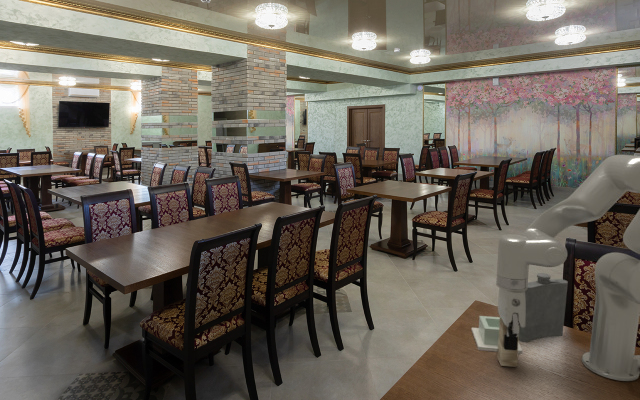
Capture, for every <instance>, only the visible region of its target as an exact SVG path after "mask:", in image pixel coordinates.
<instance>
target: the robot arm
mask: <svg viewBox="0 0 640 400" xmlns="http://www.w3.org/2000/svg"><path fill="white" fill-rule="evenodd" d="M627 192H630V193H631V192H632V193H636V194H640V155H630V154H615V155H611V156H608V157H607V158H605V159H604V160H603V161H602V162H601V163H600V164H599V165H598V166H597V167H596V168H595V169H593V171H592V172H591V173H590V175H589V176H588V177H587V178H586V179H585V180H584V181H582V183H581V184H580V185H579V186H578V187H577V188H576V189H575V190H574V191H573V192H572V193H571V194H570V195H569V196H568V197H567V198H565V199H563V200H562V201H560V202H558V203H557V204H554V205H553V206H551V207H550V208H548V209H547V210H545V211H543V212H542V213H541V214H540V215H538V217H536V218H535V219H534V220H533V221H532V222H531V224H530V225H528V227H527V228H526V229H525V230H524V231H523V232H522V235H520V234H514V233H513V234H512V233H510V234H509V233H508V234H503V235H501V236H500V237H499V239H498V242H497V243H498V247H497V264H496V265H497V266H496V283H495V284H496V287H498V298H497V312H498V314H499V317H501V319H502V321H503V322H504V324H505V325H506V335H504V349H505V350H517V342H518V343H519V340H518V334H519V326H518V324H519V325H520V326H521V327H522V328H524V327H525V323H526V298H525V291H526V290H527V286H528V283H529V268H530V266H538V267H542V268H543V267H545V268H556V267H559V266H561V265H562V264H564V263H565V261H566V260H567V257H568V250H567V248H566V245H564V244H563V242H562V241H560V240H558V239H556V237H557V236H558V235H559V234H560V233H562V232H563V231H564V230H566V229H568V228H570V227H573V226H575V225H578V224H584V223H588V222H593V221H596V220H599V219H601V218H602V217H603V216H604V215H605V214H607V212H608V211H609V210H610V209H611V208H612V207H613V206H614V205H615V204H616V203H617V201H619V200H620V199H621V197H623V196H624V194H625V193H627ZM622 242H623V244H624V245H625V247H627V248H628V249H629V250H631V251H632V252H635V253H636V254H638V255H640V209H638V211H637V213H636V214H635V216H634V217H633V219H632V220H631V221H630V223H629V225H628V226H627V228H626V229H625V231H624V232H623V237H622ZM594 283H595V301H594V303H595V304H594V311H593V318H592V327H591V337H590V344H589V345H590V346H589V351H587V352H584V353H583V354H582V356H581V362H582V364H583V365H584V366H585V368H587V369H589V371H591V372H592V373H594V374H596V375H599V376H601V377H604V378H607V379H609V380H610V379H611V380H615V381H621V382H631V381H635V380H638V379H639V376H640V355H638V354H637V355H635V351H636V344H637V337H638V336H637V335H638V329H639V322H640V259H638V258H636V257H633V256H631V255H629V254H627V253H622V252H610V253H609V252H608V253H606V254H604V255H602V256H601V257H600V258H598V260H597V262H596V263H595V268H594ZM509 323H512V324H509ZM509 328H512V330H510V331H509Z"/></svg>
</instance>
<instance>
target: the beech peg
mask: <svg viewBox="0 0 640 400" xmlns="http://www.w3.org/2000/svg"><path fill="white" fill-rule="evenodd" d="M509 324H512V323H509ZM518 326H519V323H518ZM510 330H512V328H509V331H510ZM504 335H506V325H505V324H504V322H503V321H502V319H501V318H500V322H499V340H498V352H497V360H498V362H499V364H500V366H501V367H502V366H503V367H512V368H513V367H515V368H517V367H518V364H517V363H518V355H519V354H518V343H519V334H518V342H517V350H505V349H504Z"/></svg>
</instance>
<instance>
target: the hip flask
mask: <svg viewBox="0 0 640 400" xmlns="http://www.w3.org/2000/svg"><path fill="white" fill-rule="evenodd" d="M536 278H537V280H536V281H535V280H534V281H530V282H529V281H528V286H527V290H526V291H525V298H526V323H525V327H524V328H522V327H521V326H520V325H519V340H518V342H522V343H529V342H532V341H535V340H540V339H546V338H547V339H548V338H553V337H554V338H556V337H562V336H563V335H564V325H565V315H566V314H565V313H566V304H567V294H568V293H567V292H568V284H569V283H568V282H569V281H568V280H565V279H561V278H559V279H558V278H557V279H554V278H553V279H552V278H551V275H550V274H547V273H543V272H541V273H537V274H536Z"/></svg>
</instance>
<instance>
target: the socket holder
mask: <svg viewBox="0 0 640 400" xmlns="http://www.w3.org/2000/svg"><path fill="white" fill-rule="evenodd" d="M478 318H479V320H478V327H471V333H472V335H473V340H474V342H475V345H476V348H477V350H478V351H485V352H495V353H496V352H497V353H498V340H499V322H500V318H501V317H500V316H499V317H498V316H489V315H488V316H485V315H479V316H478ZM523 352H524V351H523V349H522V347H521V345H520V343H519V342H518V355H519V354H520V355H523Z"/></svg>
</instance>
